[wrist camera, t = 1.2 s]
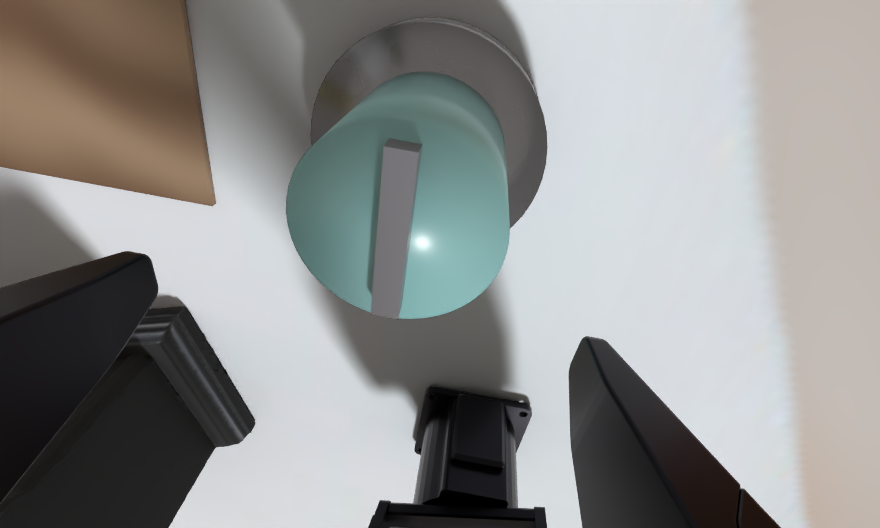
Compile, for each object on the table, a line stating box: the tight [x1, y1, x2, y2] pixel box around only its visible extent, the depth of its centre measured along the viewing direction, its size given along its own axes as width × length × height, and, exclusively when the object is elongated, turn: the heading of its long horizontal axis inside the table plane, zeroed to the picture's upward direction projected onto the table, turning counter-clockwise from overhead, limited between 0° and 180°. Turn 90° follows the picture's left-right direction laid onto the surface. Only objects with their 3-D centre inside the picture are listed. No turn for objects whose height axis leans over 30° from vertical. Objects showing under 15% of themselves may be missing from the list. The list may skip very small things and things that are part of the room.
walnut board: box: [0, 0, 216, 206], centre depth 18 cm, size 12×12×1 cm
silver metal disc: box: [311, 17, 547, 228], centre depth 18 cm, size 9×9×2 cm
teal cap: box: [286, 72, 510, 320], centre depth 14 cm, size 6×6×7 cm
